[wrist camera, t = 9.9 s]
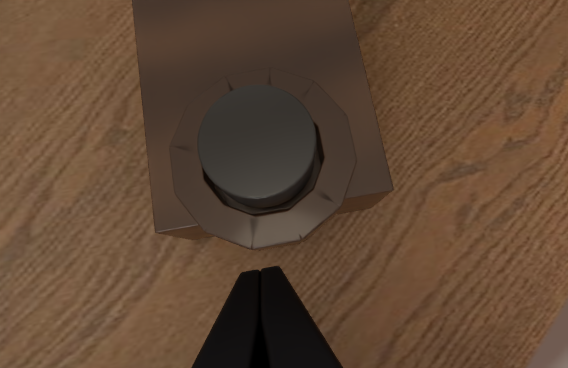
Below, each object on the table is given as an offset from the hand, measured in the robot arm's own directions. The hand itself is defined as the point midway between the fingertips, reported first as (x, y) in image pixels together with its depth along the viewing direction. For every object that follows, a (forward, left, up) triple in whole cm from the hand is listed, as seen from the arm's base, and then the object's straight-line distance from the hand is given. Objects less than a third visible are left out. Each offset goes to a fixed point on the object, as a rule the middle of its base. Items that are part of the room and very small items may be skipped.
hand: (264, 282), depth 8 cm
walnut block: (+7, -4, -12) cm, 15 cm away
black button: (+4, -2, -5) cm, 7 cm away
